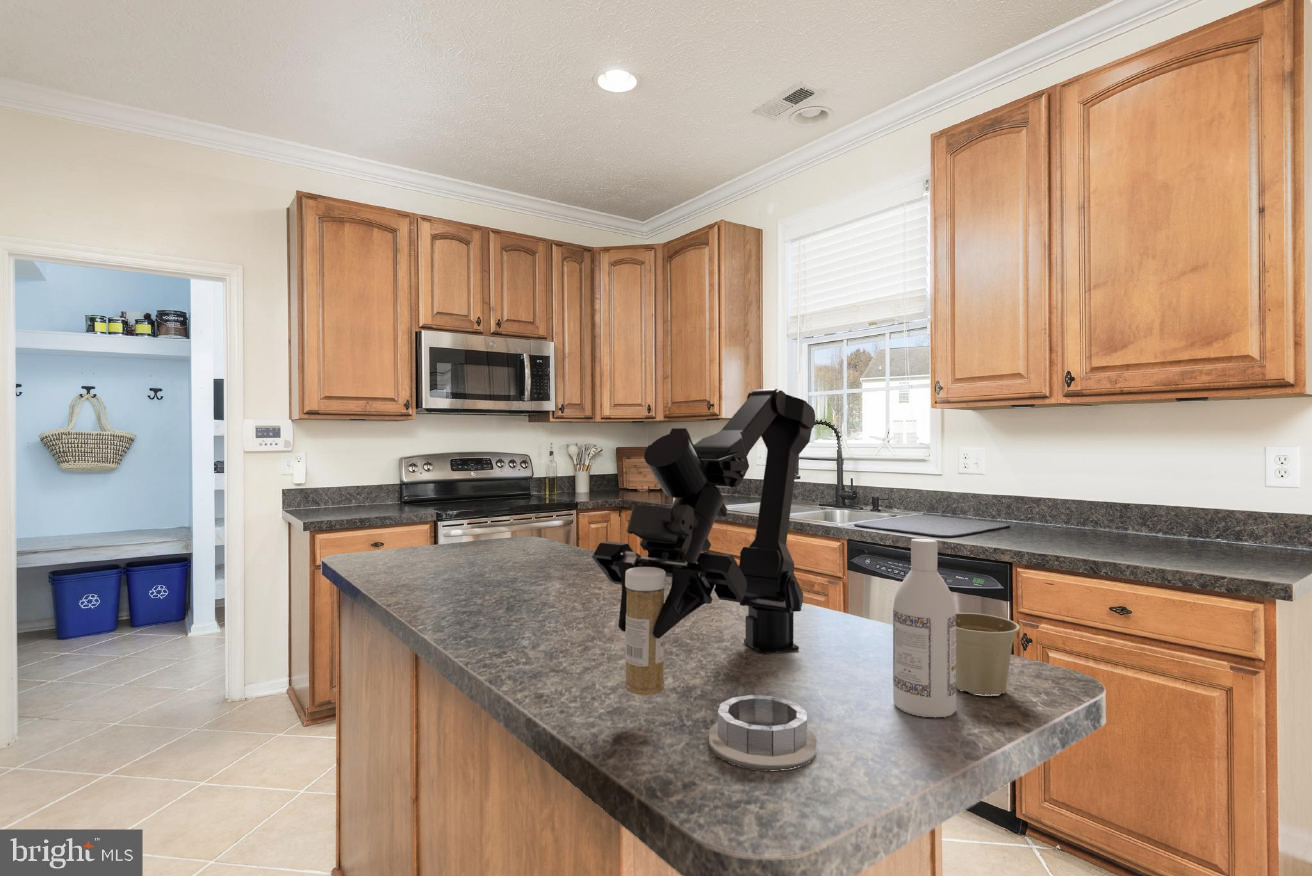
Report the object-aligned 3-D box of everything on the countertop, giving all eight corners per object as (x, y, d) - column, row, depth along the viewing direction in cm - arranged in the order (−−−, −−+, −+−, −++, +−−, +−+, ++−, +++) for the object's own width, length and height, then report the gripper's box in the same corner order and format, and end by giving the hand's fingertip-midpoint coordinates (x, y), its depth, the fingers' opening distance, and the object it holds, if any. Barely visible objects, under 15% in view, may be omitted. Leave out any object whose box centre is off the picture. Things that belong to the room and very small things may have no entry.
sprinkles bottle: (672, 691, 74) (673, 571, 74) (637, 700, 71) (639, 575, 71) (650, 678, 78) (651, 564, 78) (616, 686, 75) (617, 568, 75)
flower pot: (974, 706, 80) (974, 634, 80) (922, 679, 89) (922, 615, 89) (1037, 699, 82) (1037, 629, 82) (981, 673, 91) (981, 610, 91)
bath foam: (936, 696, 83) (936, 535, 83) (968, 719, 76) (968, 544, 76) (883, 698, 82) (883, 536, 82) (910, 721, 75) (910, 544, 76)
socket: (783, 718, 76) (783, 687, 76) (838, 761, 66) (838, 726, 66) (693, 730, 73) (693, 698, 73) (736, 778, 62) (736, 741, 62)
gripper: (601, 476, 83) (539, 581, 74) (735, 481, 73) (682, 603, 63) (637, 532, 90) (585, 634, 80) (765, 544, 79) (722, 662, 70)
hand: (638, 633), depth 73 cm, fingers closed on sprinkles bottle, 4 cm apart
